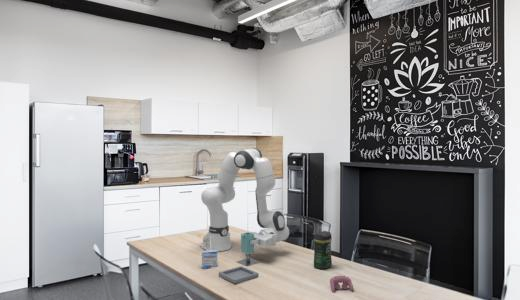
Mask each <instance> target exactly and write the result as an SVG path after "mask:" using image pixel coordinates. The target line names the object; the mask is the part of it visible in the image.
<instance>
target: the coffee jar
mask: <svg viewBox="0 0 520 300" xmlns="http://www.w3.org/2000/svg"><path fill="white" fill-rule="evenodd" d="M332 241H333V239H332V233H331V232H330V231H327V230H323V231H320V232H319V231H318V232H316V233H314V234H313V242H314V252H313V253H314V254H313V267H314V268H316V269H318V270H326V269H329V268H331V267H332V265H333V263H332V262H333V261H332Z"/></svg>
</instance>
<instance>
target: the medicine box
mask: <svg viewBox="0 0 520 300" xmlns="http://www.w3.org/2000/svg"><path fill="white" fill-rule="evenodd" d="M201 267H202V269H203V270H207V269H208V270H209V269H212V268H215V267H216V268H217V267H218V251H217V250H201Z"/></svg>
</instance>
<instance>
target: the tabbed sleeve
mask: <svg viewBox="0 0 520 300" xmlns="http://www.w3.org/2000/svg"><path fill="white" fill-rule="evenodd" d="M250 232H251V231H249V232H242V233H241V234H240V241H241V243H240V244H241V245H240V246H241V248H240V249H241V253H244V254H245V255H246V254H248V253H249V254H252V253H255V244H249V241H250V240H254V234H253V233H250Z"/></svg>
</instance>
